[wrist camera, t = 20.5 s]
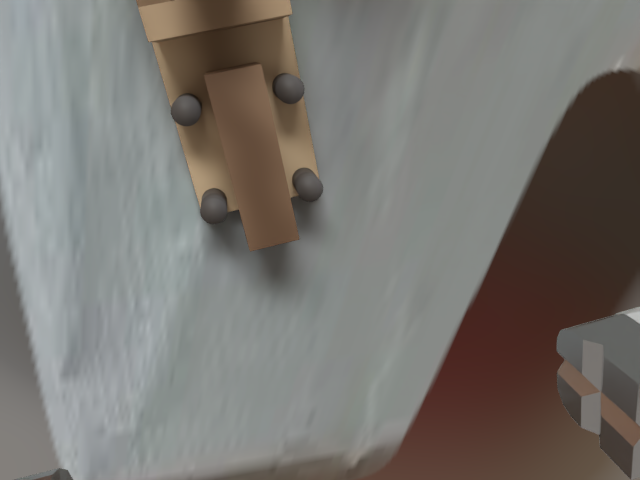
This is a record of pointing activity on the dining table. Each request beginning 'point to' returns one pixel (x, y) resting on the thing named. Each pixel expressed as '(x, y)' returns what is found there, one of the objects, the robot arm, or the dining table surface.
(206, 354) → the dining table surface
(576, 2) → the dining table surface
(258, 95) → the bar
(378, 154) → the dining table surface
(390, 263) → the dining table surface
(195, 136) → the board
